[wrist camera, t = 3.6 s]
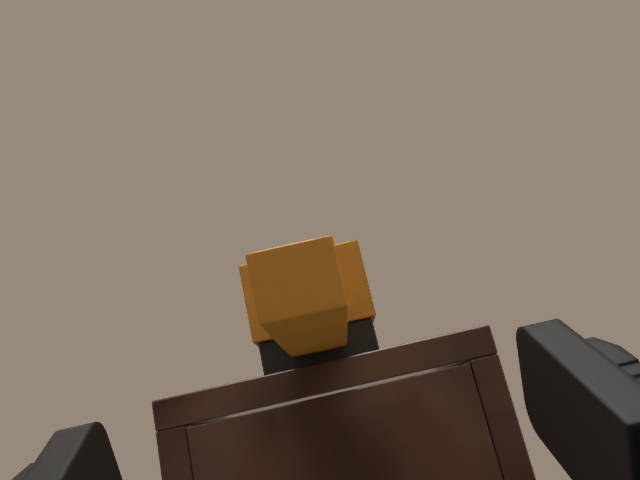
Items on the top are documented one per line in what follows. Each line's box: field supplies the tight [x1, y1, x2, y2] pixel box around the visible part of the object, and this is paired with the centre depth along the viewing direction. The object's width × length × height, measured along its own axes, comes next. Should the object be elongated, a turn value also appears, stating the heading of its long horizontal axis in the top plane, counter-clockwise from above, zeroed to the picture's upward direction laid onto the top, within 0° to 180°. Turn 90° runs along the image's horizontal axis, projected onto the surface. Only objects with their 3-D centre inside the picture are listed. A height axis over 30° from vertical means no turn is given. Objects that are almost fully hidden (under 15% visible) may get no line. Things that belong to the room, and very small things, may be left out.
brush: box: [239, 235, 379, 376], centre depth 24 cm, size 5×18×5 cm, turn 177°
